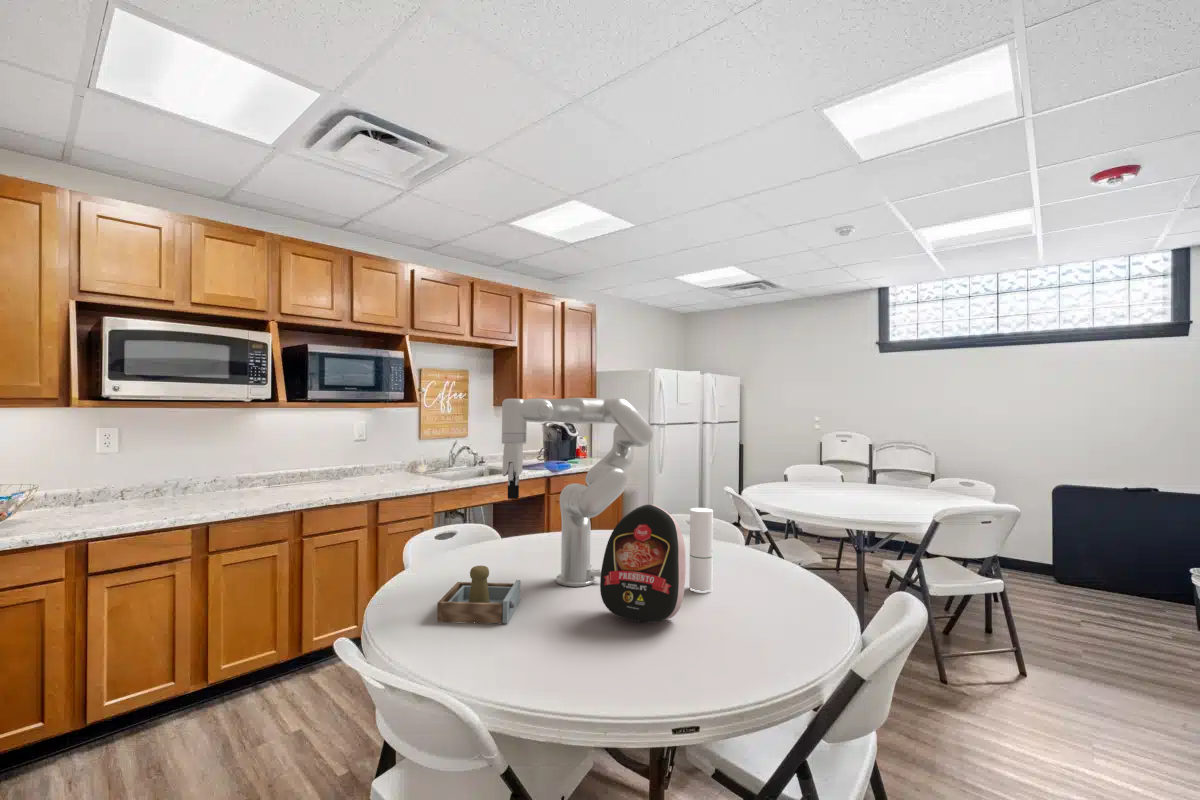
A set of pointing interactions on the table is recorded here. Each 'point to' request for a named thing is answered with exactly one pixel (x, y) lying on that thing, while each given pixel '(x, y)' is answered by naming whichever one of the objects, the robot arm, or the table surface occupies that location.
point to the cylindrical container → (701, 549)
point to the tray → (495, 597)
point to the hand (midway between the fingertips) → (513, 498)
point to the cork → (479, 584)
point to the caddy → (469, 608)
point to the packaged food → (644, 566)
